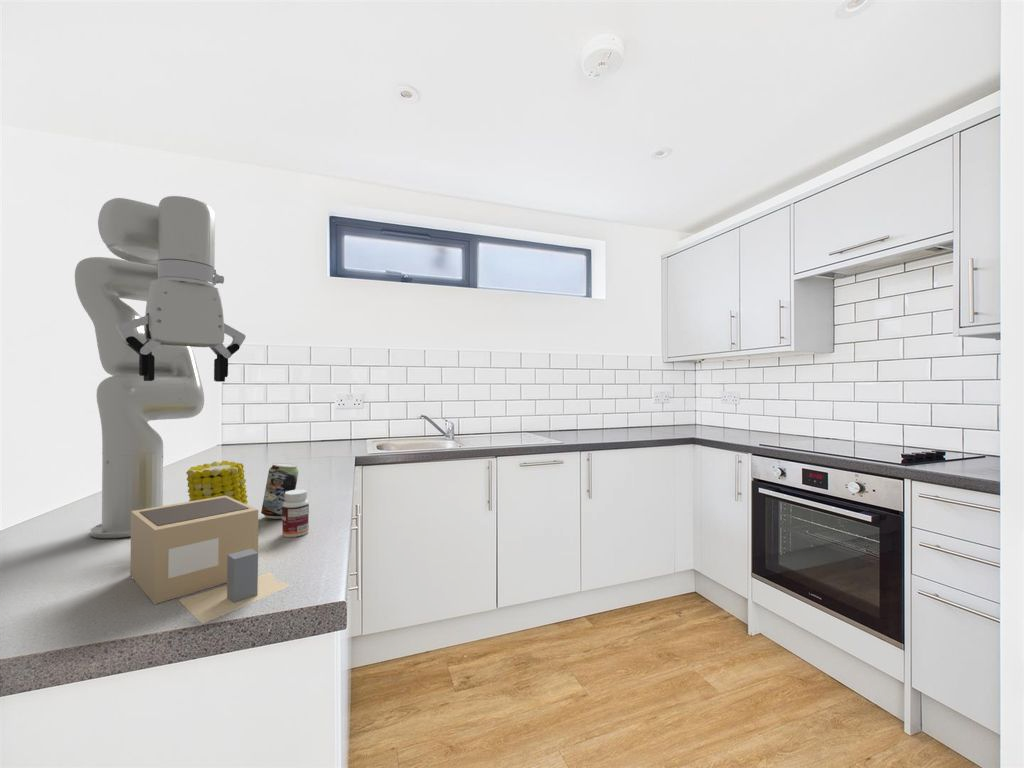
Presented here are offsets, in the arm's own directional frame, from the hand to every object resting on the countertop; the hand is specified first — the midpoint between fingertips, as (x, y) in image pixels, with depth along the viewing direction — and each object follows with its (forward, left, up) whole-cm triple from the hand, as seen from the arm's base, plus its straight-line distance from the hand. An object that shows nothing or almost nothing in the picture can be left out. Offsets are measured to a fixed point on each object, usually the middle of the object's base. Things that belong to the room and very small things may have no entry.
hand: (185, 381), depth 73 cm
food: (-13, +9, -31) cm, 34 cm away
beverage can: (-16, +22, -31) cm, 41 cm away
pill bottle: (-2, +19, -31) cm, 36 cm away
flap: (+19, +2, -31) cm, 36 cm away
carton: (+5, 0, -30) cm, 31 cm away
